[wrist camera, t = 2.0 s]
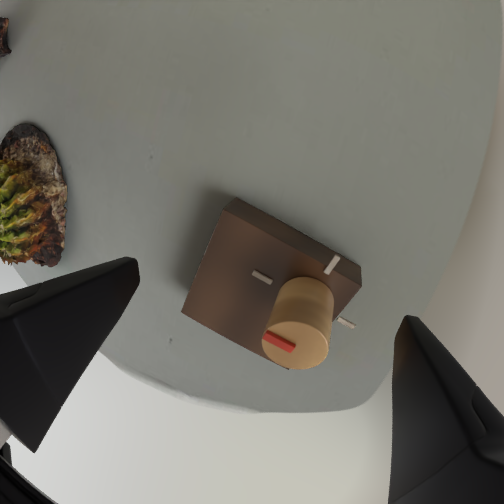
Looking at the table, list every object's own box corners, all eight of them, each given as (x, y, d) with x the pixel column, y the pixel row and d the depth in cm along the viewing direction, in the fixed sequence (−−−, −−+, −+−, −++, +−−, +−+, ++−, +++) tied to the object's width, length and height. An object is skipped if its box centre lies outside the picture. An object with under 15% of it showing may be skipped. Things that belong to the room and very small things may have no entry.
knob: (345, 294, 19) (341, 345, 15) (315, 330, 21) (305, 381, 17) (294, 266, 19) (279, 313, 15) (268, 306, 21) (249, 354, 17)
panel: (385, 266, 20) (389, 287, 18) (308, 356, 26) (303, 378, 24) (241, 184, 21) (227, 196, 18) (193, 295, 26) (179, 313, 24)
